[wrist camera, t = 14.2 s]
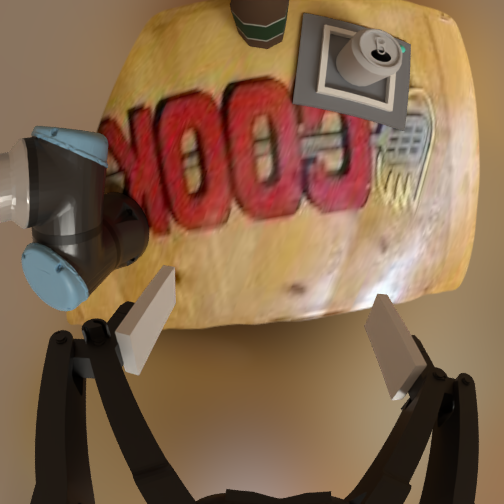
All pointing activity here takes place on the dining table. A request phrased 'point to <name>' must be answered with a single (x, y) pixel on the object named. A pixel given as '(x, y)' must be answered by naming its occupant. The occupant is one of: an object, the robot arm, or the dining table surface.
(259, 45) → the beer bottle
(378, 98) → the dock
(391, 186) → the dining table surface
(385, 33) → the can
